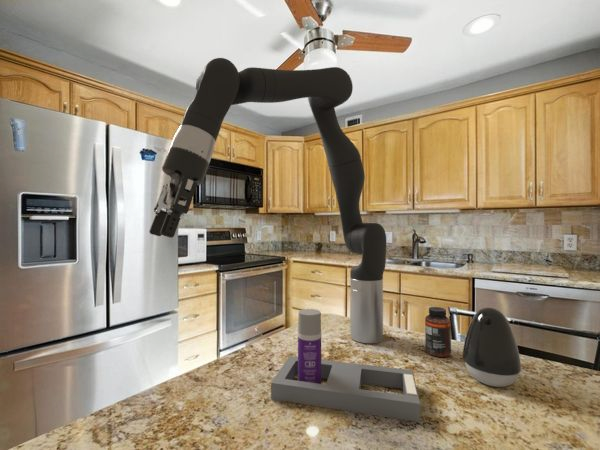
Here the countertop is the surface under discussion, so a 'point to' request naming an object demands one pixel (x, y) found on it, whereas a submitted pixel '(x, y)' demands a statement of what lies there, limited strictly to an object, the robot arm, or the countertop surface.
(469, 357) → the pump dispenser
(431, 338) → the supplement bottle
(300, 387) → the socket board
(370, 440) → the countertop surface
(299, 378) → the container
